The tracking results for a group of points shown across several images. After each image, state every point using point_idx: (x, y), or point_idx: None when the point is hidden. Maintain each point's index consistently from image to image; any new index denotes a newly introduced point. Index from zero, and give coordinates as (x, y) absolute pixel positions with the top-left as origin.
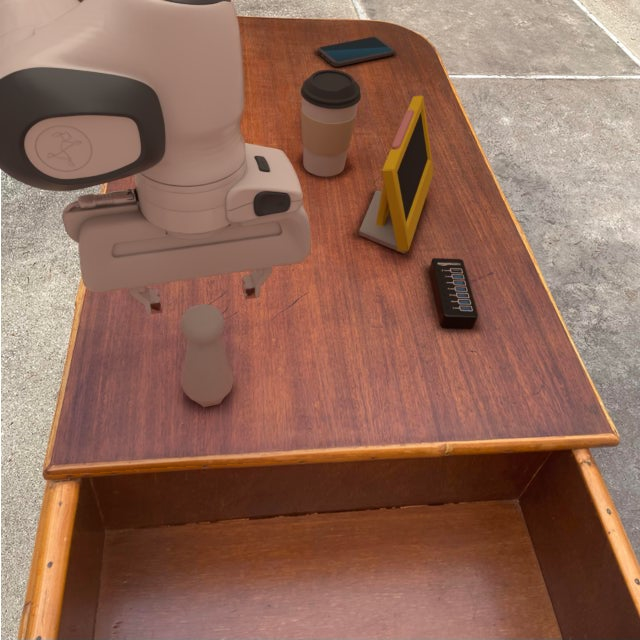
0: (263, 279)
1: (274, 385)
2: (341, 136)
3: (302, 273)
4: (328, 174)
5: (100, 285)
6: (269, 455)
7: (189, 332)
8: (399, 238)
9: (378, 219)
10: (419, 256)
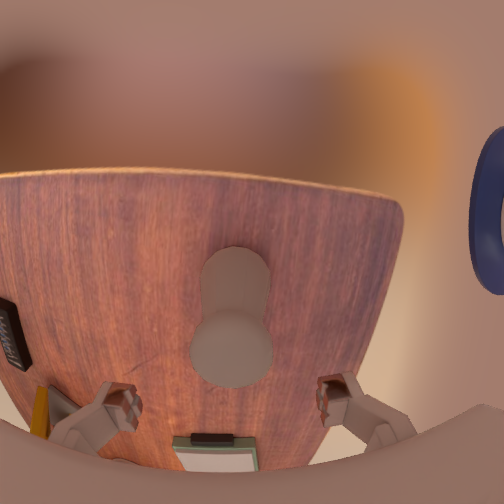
0: (77, 415)
1: (155, 268)
2: None
3: None
4: (122, 460)
5: (489, 422)
6: (170, 168)
7: (259, 334)
8: (41, 399)
9: None
10: (41, 378)
